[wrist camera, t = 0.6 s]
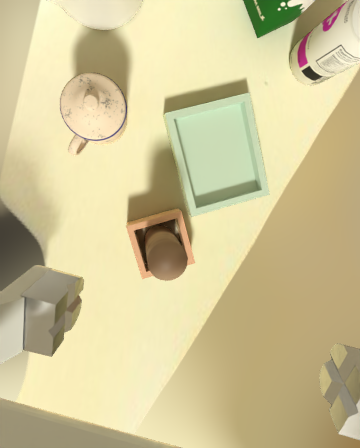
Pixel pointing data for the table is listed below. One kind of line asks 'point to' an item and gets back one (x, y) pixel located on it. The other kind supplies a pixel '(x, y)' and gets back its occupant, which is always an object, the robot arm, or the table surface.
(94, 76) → the teacup with lid
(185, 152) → the sage tray
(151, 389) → the table surface
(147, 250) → the walnut canister
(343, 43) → the supplement can
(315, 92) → the table surface
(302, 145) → the table surface
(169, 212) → the terracotta holder
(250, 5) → the milk carton
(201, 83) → the table surface
